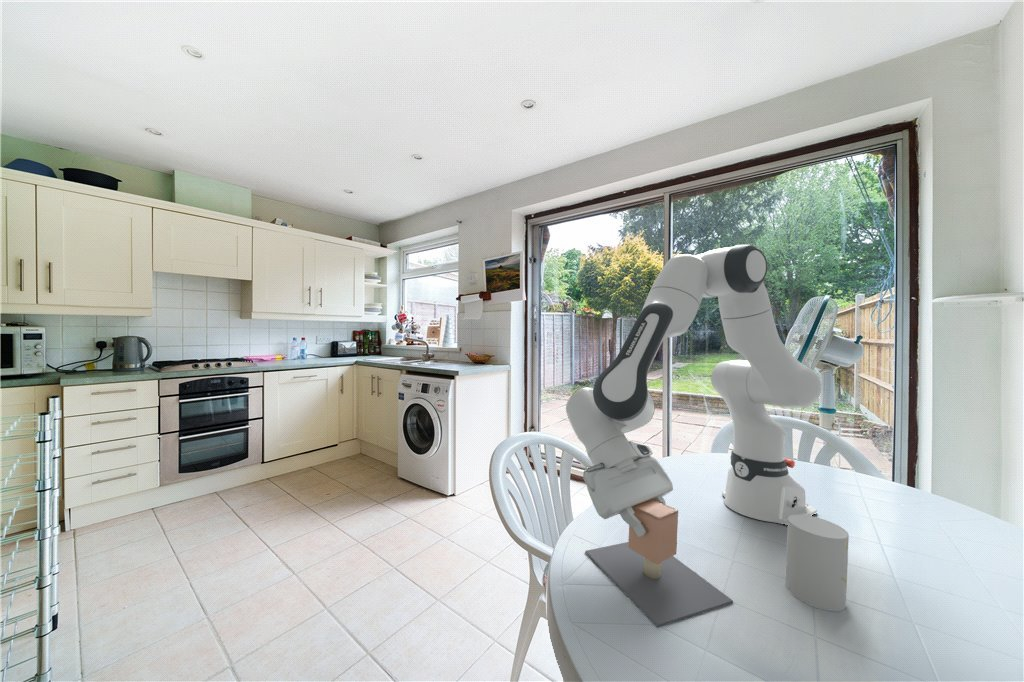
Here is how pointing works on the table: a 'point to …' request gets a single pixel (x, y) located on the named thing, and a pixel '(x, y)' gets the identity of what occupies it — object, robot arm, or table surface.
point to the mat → (658, 584)
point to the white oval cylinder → (817, 562)
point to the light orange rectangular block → (655, 531)
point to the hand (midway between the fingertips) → (656, 528)
